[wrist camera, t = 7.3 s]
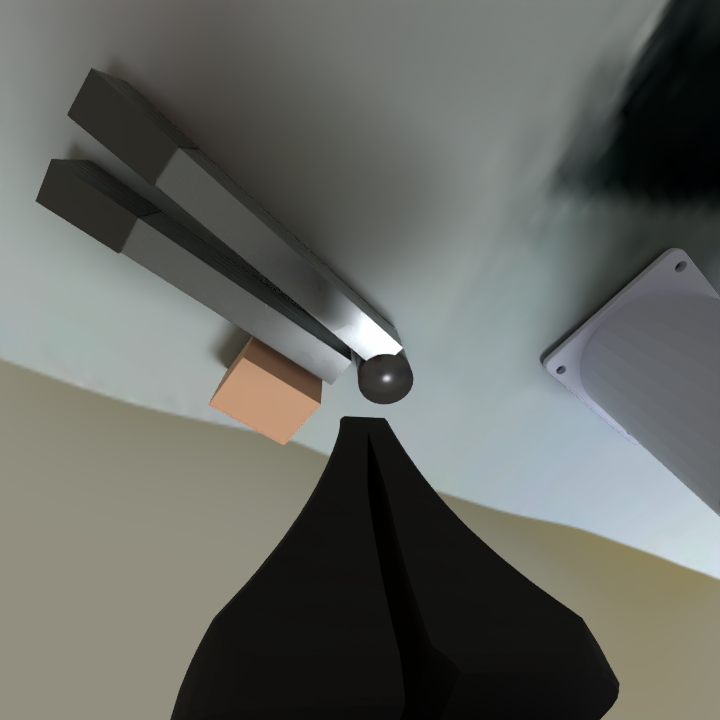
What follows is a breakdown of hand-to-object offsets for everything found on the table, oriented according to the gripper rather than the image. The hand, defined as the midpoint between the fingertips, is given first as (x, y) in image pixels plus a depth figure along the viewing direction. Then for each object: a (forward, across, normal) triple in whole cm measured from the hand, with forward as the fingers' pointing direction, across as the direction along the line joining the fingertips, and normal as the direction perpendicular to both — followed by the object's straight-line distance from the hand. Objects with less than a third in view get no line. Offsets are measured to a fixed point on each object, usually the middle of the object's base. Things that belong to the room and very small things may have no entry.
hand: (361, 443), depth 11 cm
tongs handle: (+8, +6, -2) cm, 11 cm away
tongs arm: (+8, +4, -3) cm, 9 cm away
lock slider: (+8, +4, +2) cm, 9 cm away
